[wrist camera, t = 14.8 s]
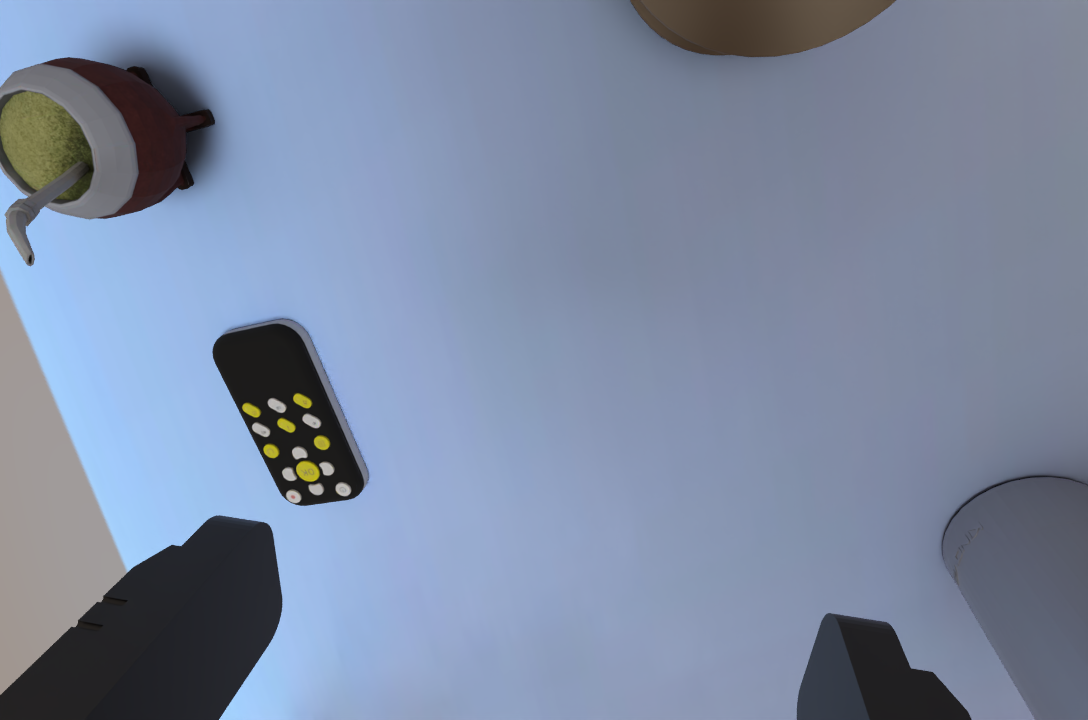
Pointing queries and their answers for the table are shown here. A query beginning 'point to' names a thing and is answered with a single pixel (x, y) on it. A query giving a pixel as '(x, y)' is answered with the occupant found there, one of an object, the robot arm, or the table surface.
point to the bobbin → (755, 23)
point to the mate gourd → (89, 142)
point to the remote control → (291, 412)
